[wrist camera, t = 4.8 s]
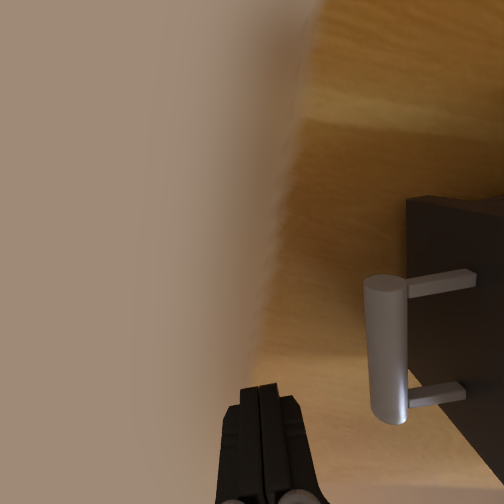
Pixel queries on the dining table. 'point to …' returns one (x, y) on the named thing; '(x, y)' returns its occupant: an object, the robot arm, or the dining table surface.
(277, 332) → the dining table surface
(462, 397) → the drawer
